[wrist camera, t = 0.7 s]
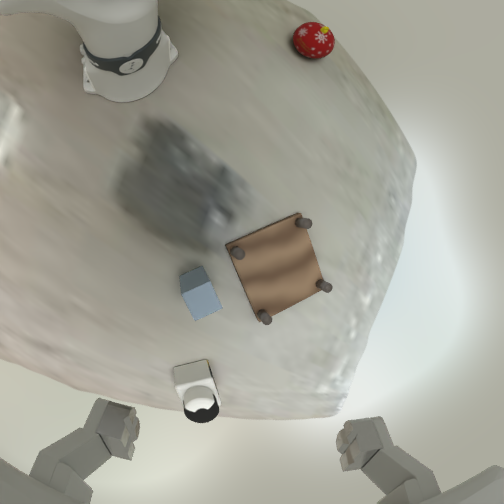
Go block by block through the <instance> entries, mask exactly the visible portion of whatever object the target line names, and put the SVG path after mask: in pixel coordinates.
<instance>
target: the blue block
mask: <svg viewBox="0 0 504 504" xmlns="http://www.w3.org/2000/svg"><path fill="white" fill-rule="evenodd" d="M179 277H180V287H181V295H182V297H183V299H184V301H185V303H186V305H187V307H188V309H189V311H190V313H191V314H192V316H193V318H194V320H195V321H196V320H198V319H200V318H203V317H205V316H207V315H209V314H211V313H214V312H216V311H218V310H220V309H222V305H221V303H220V301H219V299H218V297H217V295H216V293H215V290H214V288H213V286H212V284H211V282H210V280H209V278H208V276H207V274H206V272H205V270H204V268H203V266H201V267H198V268H196V269H194V270H192V271H190V272H187V273H185V274H183V275H181V276H179Z"/></svg>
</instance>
